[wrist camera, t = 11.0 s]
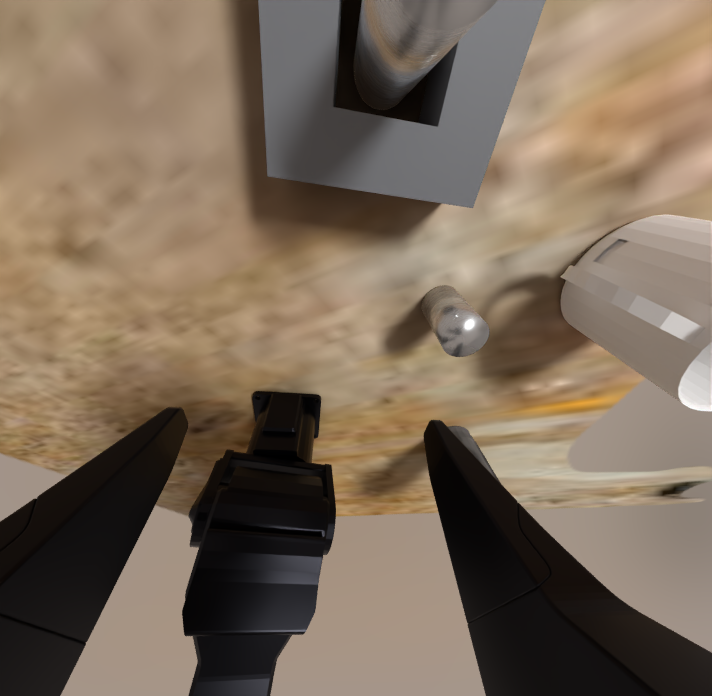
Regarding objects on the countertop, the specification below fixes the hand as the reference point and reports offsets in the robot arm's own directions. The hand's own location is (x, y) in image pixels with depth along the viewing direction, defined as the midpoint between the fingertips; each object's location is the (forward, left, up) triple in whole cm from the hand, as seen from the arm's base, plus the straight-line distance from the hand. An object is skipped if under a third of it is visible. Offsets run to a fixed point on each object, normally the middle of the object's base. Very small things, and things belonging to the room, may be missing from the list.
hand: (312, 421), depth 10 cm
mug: (+4, -21, -12) cm, 25 cm away
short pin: (0, -9, -12) cm, 15 cm away
